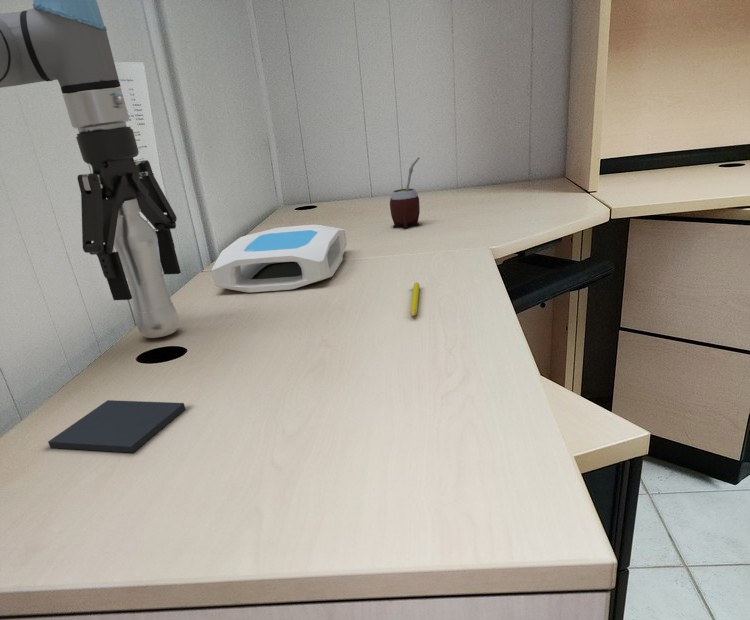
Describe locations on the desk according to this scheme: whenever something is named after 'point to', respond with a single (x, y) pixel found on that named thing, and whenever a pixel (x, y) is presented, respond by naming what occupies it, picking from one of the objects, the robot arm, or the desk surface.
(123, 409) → the coaster
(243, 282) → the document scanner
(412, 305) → the pencil
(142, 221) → the plastic bottle
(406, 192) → the mate gourd
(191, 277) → the desk surface
